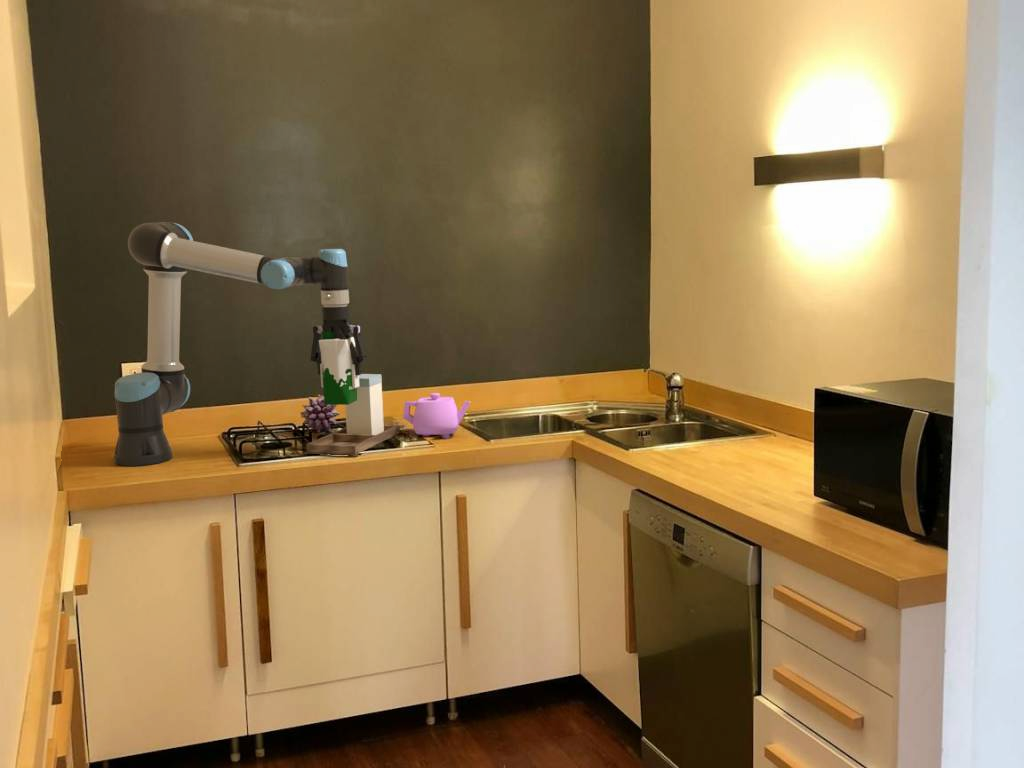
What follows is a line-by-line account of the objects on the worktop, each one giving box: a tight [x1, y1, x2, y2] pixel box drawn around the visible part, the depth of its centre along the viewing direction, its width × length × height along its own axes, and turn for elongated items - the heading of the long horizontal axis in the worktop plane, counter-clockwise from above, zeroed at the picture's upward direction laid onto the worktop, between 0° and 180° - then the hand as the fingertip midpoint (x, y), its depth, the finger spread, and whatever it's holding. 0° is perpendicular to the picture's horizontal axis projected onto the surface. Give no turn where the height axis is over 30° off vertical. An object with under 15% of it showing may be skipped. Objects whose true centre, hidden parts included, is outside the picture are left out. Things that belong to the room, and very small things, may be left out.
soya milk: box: [319, 330, 357, 406], centre depth 293 cm, size 9×9×20 cm
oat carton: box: [344, 373, 385, 435], centre depth 308 cm, size 8×8×18 cm
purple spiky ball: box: [300, 394, 340, 434], centre depth 320 cm, size 12×12×12 cm
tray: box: [305, 424, 401, 458], centre depth 303 cm, size 15×29×3 cm, turn 162°
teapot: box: [402, 392, 471, 440], centre depth 311 cm, size 20×12×13 cm, turn 88°
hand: (340, 386), depth 294 cm, fingers closed on soya milk, 9 cm apart
